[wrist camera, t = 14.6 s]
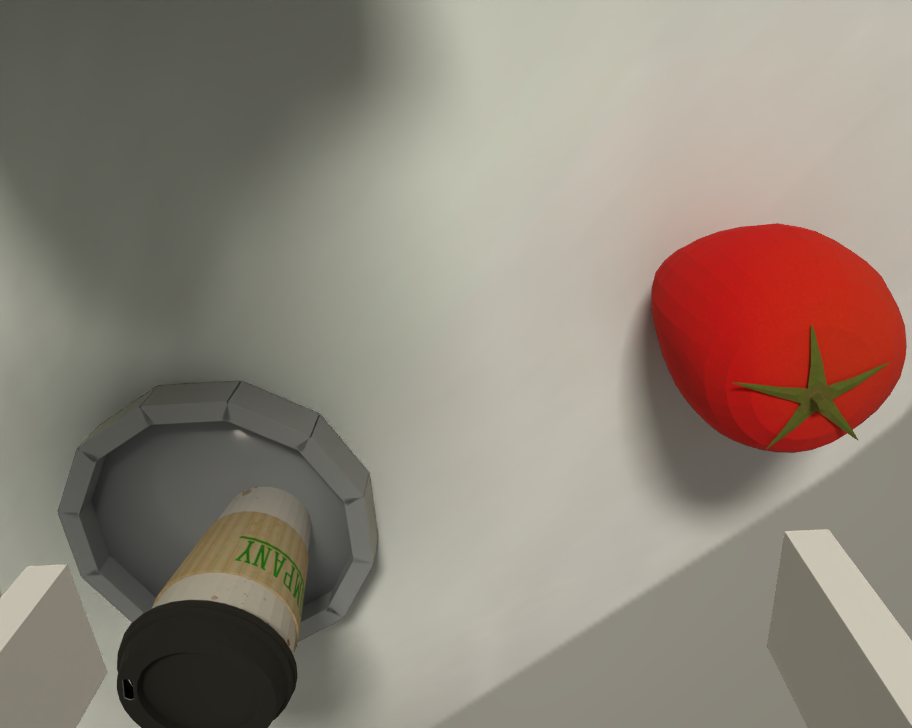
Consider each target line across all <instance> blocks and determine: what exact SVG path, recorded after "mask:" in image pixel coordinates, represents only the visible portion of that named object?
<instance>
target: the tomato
mask: <svg viewBox="0 0 912 728" xmlns="http://www.w3.org/2000/svg"><path fill="white" fill-rule="evenodd" d="M651 296H652V314H653V319H654V325H655V329H656V333H657V337H658V341H659V344H660V348H661V351H662V355H663V357H664V360H665V362H666V365H667V367H668V370H669V372H670V374H671V376H672V378H673V380H674V382H675V384H676V386H677V387H678V389H679V390H680V392H681V393H682V395H683V396H684V398H685V399H686V401H687V402H688V403H689V404H690V405H691V407H692V408H693V409H694V410H695V411H696V412H697V413H698V414H699V415H700V416H701V417H702V418H703V419H704V420H705V421H706V422H707V423H708V424H709V425H710V426H712V427H713V428H714V429H715V430H717V431H718V432H719V433H721V434H723V435H724V436H726V437H728V438H730V439H732V440H734V441H737V442H739V443H742V444H744V445H747V446H751V447H754V448H757V449H761V450H767V451H773V452H788V453H795V452H801V451H808V450H813V449H816V448H818V447H821V446H824V445H827V444H829V443H832V442H834V441H835V440H837V439H838V438H840V437H842V436H844V435H845V434H847V433H848V434H849V435H851V436H852V437H854V438H855V439H857V437H856V435H855V434H854V432H853V429H854V428H856V427H857V426H858V425H860V424H861V423H863V422H864V421H865V420H866V419H867V418H869V417H870V416H871V415H872V414H873V413H874V412H876V411H877V410H878V409H879V407H880V406H881V405H882V404H883V403H884V401H885V400H886V399H887V398H888V396H889V395H890V394H891V392H892V390H893V389H894V387H895V385H896V384H897V382H898V380H899V378H900V376H901V372H902V369H903V365H904V361H905V356H906V347H907V346H906V334H905V325H904V322H903V319H902V316H901V313H900V311H899V308H898V306H897V304H896V302H895V300H894V298H893V296H892V294H891V292H890V291H889V289H888V287H887V285H886V284H885V282H884V280H883V278H882V276H881V275H880V274H879V273H878V272H877V271H876V270H875V269H874V268H873V267H872V266H871V265H869V264H868V263H867V262H866V261H865V260H864V259H862V258H861V257H859V256H858V255H856V254H855V253H854V252H852V251H851V250H849V249H847V248H846V247H844V246H843V245H841V244H840V243H838V242H837V241H835V240H833V239H831V238H829V237H826V236H824V235H822V234H820V233H818V232H816V231H812V230H809V229H805V228H801V227H796V226H790V225H784V224H778V223H777V224H768V225H758V226H746V227H738V228H734V229H729V230H724V231H720V232H717V233H714V234H711V235H708V236H706V237H703V238H700V239H698V240H696V241H694V242H692V243H691V244H689V245H687V246H685V247H683V248H681V249H679V250H677V251H676V252H675V253H673V254H672V255H671V256H670V257H668V258H667V259H666V260H665V261H664V262H663V263H662V265H661V266H660V267H659V269H658V270H657V271H656V273H655V277H654V281H653V285H652V293H651ZM857 440H858V439H857Z"/></svg>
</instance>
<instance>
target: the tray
mask: <svg viewBox="0 0 912 728" xmlns="http://www.w3.org/2000/svg"><path fill="white" fill-rule="evenodd" d="M318 415H319V413H316V412H314V411H312V410H309V409H307V408H304V407H302V406H300V405H297V404H295V403H293V402H290V401H288V400H286V399H283V398H281V397H278V396H276V395H274V394H271V393H269V392H267V391H264V390H262V389H260V388H257V387H255V386H252V385H250V384H248V383H245V382H243V381H242V382H240V381H227V382H209V383H192V384H174V385H159V386H157V387H155V388H154V389H152V390H151V391H149V392H148V393H146V394H145V395H143V396H142V397H140V398H139V399H137V400H136V401H134V402H133V403H132V404H130V405H129V406H127V407H126V408H124V409H123V410H121V411H120V412H118V413H117V414H115V415H114V416H112V417H111V418H109V419H108V420H107V421H105V422H104V423H102V424H101V425H99V426H98V427H97V428H96V429H95V430H94V431H93V432H92V434H91V435H90V436H89V437H88V438H87V439H86V440H85V441H84V442H83V443H82V444H81V445H80V446H79V447H78V448H77V450H76V453H75V457H74V460H73V463H72V466H71V470H70V473H69V476H68V479H67V483H66V486H65V489H64V492H63V496H62V499H61V502H60V505H59V509H58V515H59V518H60V520H61V523H62V526H63V529H64V531H65V534H66V537H67V539H68V542H69V545H70V548H71V550H72V553H73V556H74V559H75V561H76V564H77V567H78V570H79V572H80V575H81V576H83V577H82V578H83V579H84V580H85V581H86V582H88V583H89V584H90V585H91V586H92V587H93V588H94V589H95V590H97V591H98V592H99V593H100V594H101V595H102V596H103V597H104V598H106V599H107V600H108V601H109V602H110V603H111V604H112V605H113V606H115V607H116V608H117V609H118V610H119V611H120V612H121V613H122V614H123V615H125V616H126V617H127V618H128V619H129V620H130V621H131V622H133V621H135V620H136V619H137V618H138V617H139V616H140V615H142V614H143V613H145V612H147V611H148V610H150V609H152V607H153V605H154V602H155V599H156V598H157V596H158V595H159V593H160V592H161V590H162V589H163V588H164V586H165V585H166V584H167V582H168V581H169V580H170V578H171V577H172V576H173V574H174V573H175V572H176V570H177V569H178V568H179V567H180V565H181V564H182V563H183V561H184V560H185V559H186V557H187V556H188V555H189V553H190V552H191V551H192V549H193V548H194V547H195V545H196V544H197V543H198V541H199V540H200V539H201V537H202V536H203V535H204V534H205V532H206V531H207V530H208V528H209V527H210V526H211V525H212V524H213V523H214V522H215V521H216V520H218V519H219V517H220V516H221V514H222V513H223V512H224V510H225V509H226V508H227V506H228V505H229V504H230V502H231V501H232V500H233V498H234V497H236V496H237V495H238V494H239V493H241V492H243V491H245V490H247V489H250V488H254V487H261V486H262V487H273V488H278V489H281V490H284V491H286V492H288V493H290V494H292V495H294V496H295V497H296V498H297V499H299V500H300V501H301V502H302V504H303V505H304V506H305V507H306V509H307V511H308V513H309V515H310V519H311V533H310V540H309V547H308V560H309V562H308V569H307V577H306V584H305V592H304V599H303V607H302V614H301V622H300V629H299V637H298V642H299V641H300V640H302V639H304V638H306V637H308V636H310V635H312V634H314V633H316V632H318V631H319V630H321V629H323V628H325V627H327V626H329V625H331V624H333V623H335V622H337V621H338V620H340V619H342V618H343V617H344V616H345V614H346V612H347V610H348V609H349V607H350V605H351V603H352V601H353V600H354V598H355V596H356V594H357V592H358V591H359V589H360V587H361V585H362V584H363V582H364V580H365V578H366V576H367V575H368V573H369V571H370V569H371V567H372V566H373V563H374V558H375V552H376V546H377V541H378V530H377V523H376V516H375V509H374V502H373V494H372V487H371V480H370V473H369V471H368V470H367V469H366V468H365V467H364V466H363V464H362V463H361V462H360V461H359V460H358V458H357V457H356V456H355V455H354V454H353V453H352V451H351V450H350V449H349V448H348V447H347V445H346V444H345V443H344V442H343V441H342V440H341V438H340V437H339V436H338V435H337V434H336V432H335V431H334V430H333V429H332V428H331V427H330V425H329V424H328V423H327V422H326V421H325V419H324V418H323V417H322V416H321V415H319V416H318Z"/></svg>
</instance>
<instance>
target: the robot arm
mask: <svg viewBox="0 0 912 728" xmlns="http://www.w3.org/2000/svg"><path fill="white" fill-rule="evenodd" d="M767 647H768V649H769V651H770V653H771V655H772V657H773V659H774V661H775V663H776V665H777V667H778V669H779V671H780V673H781V675H782V677H783V679H784V681H785V683H786V685H787V687H788V689H789V691H790V693H791V695H792V697H793V699H794V701H795V703H796V705H797V707H798V709H799V711H800V713H801V715H802V717H803V719H804V721H805V723H806V725H807V727H808V728H912V641H911V640H910V638H909V637H908V635H907V634H906V633H905V631H904V630H903V629H902V627H901V626H900V625H899V623H898V622H897V621H896V619H895V618H894V617H893V615H892V614H891V613H890V611H889V610H888V609H887V607H886V606H885V605H884V603H883V602H882V601H881V599H880V598H879V597H878V595H877V594H876V593H875V591H874V590H873V589H872V587H871V586H870V585H869V583H868V582H867V580H866V579H865V578H864V577H863V575H862V574H861V572H860V571H859V570H858V569H857V567H856V566H855V564H854V563H853V562H852V560H851V559H850V558H849V556H848V555H847V554H846V552H845V551H844V550H843V548H842V547H841V546H840V544H839V543H838V542H837V540H836V539H835V538H834V536H833V535H832V534H831V532H830V531H829V530H828V529H827V530H826V529H825V530H803V531H785V533H784V539H783V545H782V552H781V559H780V565H779V571H778V579H777V584H776V591H775V597H774V604H773V610H772V617H771V623H770V629H769V637H768V642H767ZM106 674H107V670H106V667H105V664H104V662H103V659H102V656H101V654H100V651H99V648H98V646H97V643H96V640H95V638H94V635H93V632H92V630H91V627H90V624H89V621H88V619H87V616H86V613H85V611H84V608H83V605H82V603H81V600H80V597H79V595H78V592H77V589H76V587H75V584H74V581H73V579H72V576H71V573H70V571H69V568H68V565H67V564H63V565H41V566H27V567H26V568H25V569H24V570H23V572H22V573H21V574H20V575H19V576H18V578H17V579H16V580H15V581H14V582H13V583H12V585H11V586H10V587H9V588H8V589H7V591H6V592H5V593H4V594H3V595H2V597H1V598H0V728H76V727H77V725H78V723H79V721H80V720H81V718H82V716H83V714H84V713H85V711H86V709H87V707H88V706H89V704H90V702H91V700H92V699H93V697H94V695H95V693H96V691H97V690H98V688H99V686H100V684H101V683H102V681H103V679H104V677H105V676H106Z"/></svg>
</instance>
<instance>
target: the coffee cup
mask: <svg viewBox="0 0 912 728" xmlns="http://www.w3.org/2000/svg"><path fill="white" fill-rule="evenodd" d="M310 533H311V519H310V515H309V513H308V511H307V509H306V507H305V506H304V505H303V504H302V502H301V501H300V500H299V499H297V498H296V497H295V496H294V495H292V494H290V493H288V492H286V491H284V490H281V489H278V488H273V487H262V486H261V487H254V488H250V489H247V490H245V491H243V492H241V493H239V494H238V495H237V496H236V497H234V498H233V500H232V501H231V502H230V504H229V505H228V506H227V508H226V509H225V510H224V512H223V513H222V514H221V516H220V517H219V519H218V520H216V521H215V522H214V523H213V524H212V525H211V526H210V527H209V528H208V530H207V531H206V532H205V534H204V535H203V536H202V537H201V539H200V540H199V541H198V543H197V544H196V545H195V547H194V548H193V549H192V551H191V552H190V553H189V555H188V556H187V557H186V559H185V560H184V561H183V563H182V564H181V565H180V567H179V568H178V569H177V570H176V572H175V573H174V574H173V576H172V577H171V578H170V580H169V581H168V582H167V584H166V585H165V586H164V588H163V589H162V590H161V592H160V593H159V595H158V596H157V598H156V599H155V602H154V605H153V607H152V609H150V610H148V611H147V612H145V613H143V614H142V615H140V616H139V617H138V618H137V619H136V620H135V621H133V622H132V623H131V625H130V626H129V628H128V629H127V631H126V632H125V633H124V636H123V639H122V642H121V645H120V648H119V652H118V660H117V670H118V677H117V691H118V695H119V699H120V701H121V703H122V705H123V707H124V709H125V711H126V712H127V713H128V715H129V716H130V717H131V718H132V720H133V721H134V722H136V723H137V724H138V725H139V726H140V727H141V728H268V727H269V725H270V724H271V722H272V721H273V720H274V719H276V718H277V717H278V716H279V714H280V713H281V712H282V711H283V710H284V709H285V707H286V706H287V704H288V702H289V700H290V698H291V696H292V694H293V692H294V690H295V687H296V682H297V666H296V662H295V659H294V656H293V653H294V651H295V649H296V647H297V642H298V637H299V629H300V622H301V614H302V607H303V599H304V592H305V584H306V577H307V569H308V562H309V560H308V547H309V540H310ZM128 679H129V680H130V682H131V684H132V685H131V684H130V682H129V680H128Z"/></svg>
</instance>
